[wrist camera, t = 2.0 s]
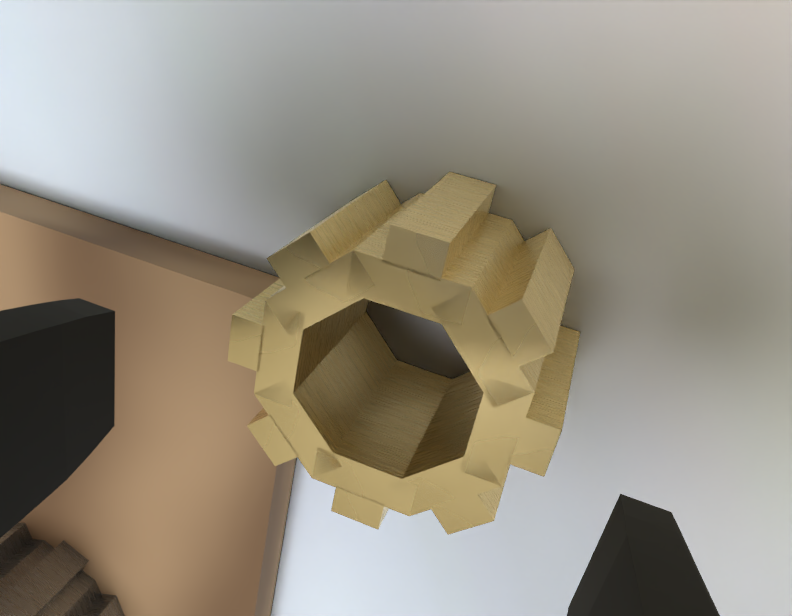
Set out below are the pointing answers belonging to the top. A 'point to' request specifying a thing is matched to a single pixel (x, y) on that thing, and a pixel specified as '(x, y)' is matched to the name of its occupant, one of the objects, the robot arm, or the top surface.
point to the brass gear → (400, 382)
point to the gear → (47, 580)
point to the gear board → (157, 418)
